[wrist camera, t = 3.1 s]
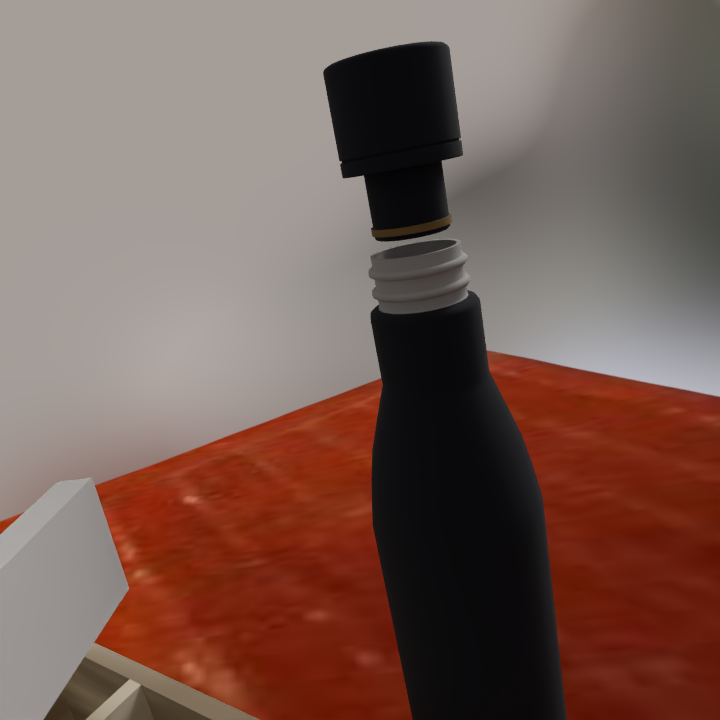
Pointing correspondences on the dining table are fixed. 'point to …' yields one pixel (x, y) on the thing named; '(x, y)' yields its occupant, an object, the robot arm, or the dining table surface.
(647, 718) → the dining table surface
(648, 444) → the dining table surface
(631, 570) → the dining table surface
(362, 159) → the black metal bottle
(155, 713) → the wooden compartment box
